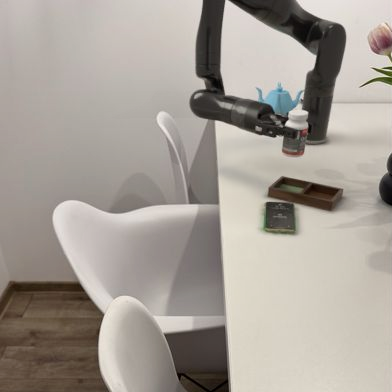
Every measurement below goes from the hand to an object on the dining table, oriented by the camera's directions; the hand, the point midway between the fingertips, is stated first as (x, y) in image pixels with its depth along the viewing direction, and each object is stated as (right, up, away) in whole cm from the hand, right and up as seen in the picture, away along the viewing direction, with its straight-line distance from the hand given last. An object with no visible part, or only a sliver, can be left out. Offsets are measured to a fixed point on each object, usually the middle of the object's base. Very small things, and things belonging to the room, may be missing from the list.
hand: (304, 131), depth 118 cm
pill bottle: (-2, -3, +5) cm, 7 cm away
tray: (+2, -13, +10) cm, 16 cm away
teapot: (+4, +34, +63) cm, 71 cm away
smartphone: (-6, -21, 0) cm, 22 cm away
